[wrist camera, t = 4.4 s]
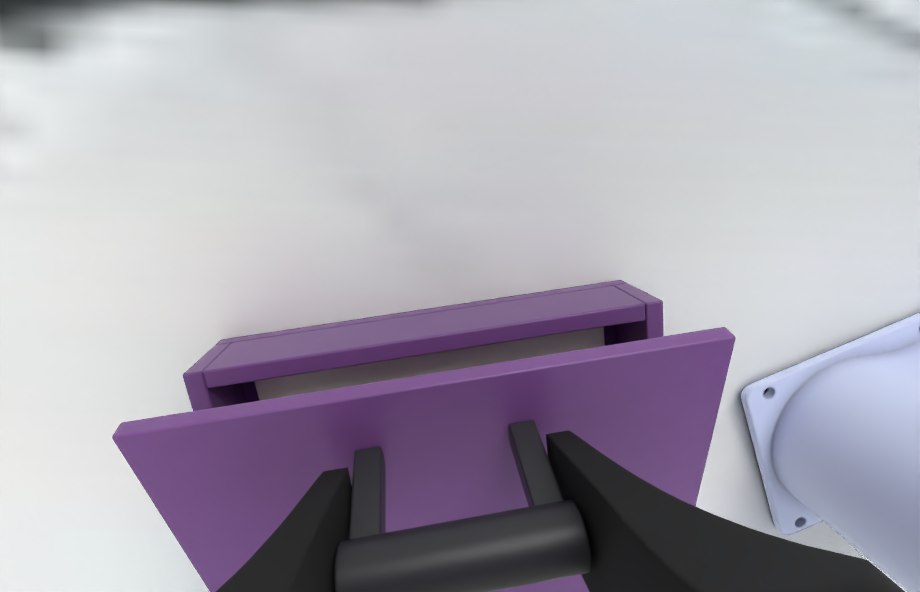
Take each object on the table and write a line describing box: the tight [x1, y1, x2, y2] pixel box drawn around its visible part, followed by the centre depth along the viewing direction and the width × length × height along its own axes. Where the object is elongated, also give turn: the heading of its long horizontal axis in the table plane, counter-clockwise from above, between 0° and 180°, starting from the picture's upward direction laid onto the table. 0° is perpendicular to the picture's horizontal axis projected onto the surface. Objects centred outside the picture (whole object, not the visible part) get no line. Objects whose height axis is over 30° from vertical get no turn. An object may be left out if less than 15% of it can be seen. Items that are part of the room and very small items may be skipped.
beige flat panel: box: [254, 327, 605, 401], centre depth 19 cm, size 9×13×1 cm
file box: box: [183, 280, 663, 411], centre depth 18 cm, size 11×15×3 cm
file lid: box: [112, 327, 735, 592], centre depth 13 cm, size 12×15×4 cm
